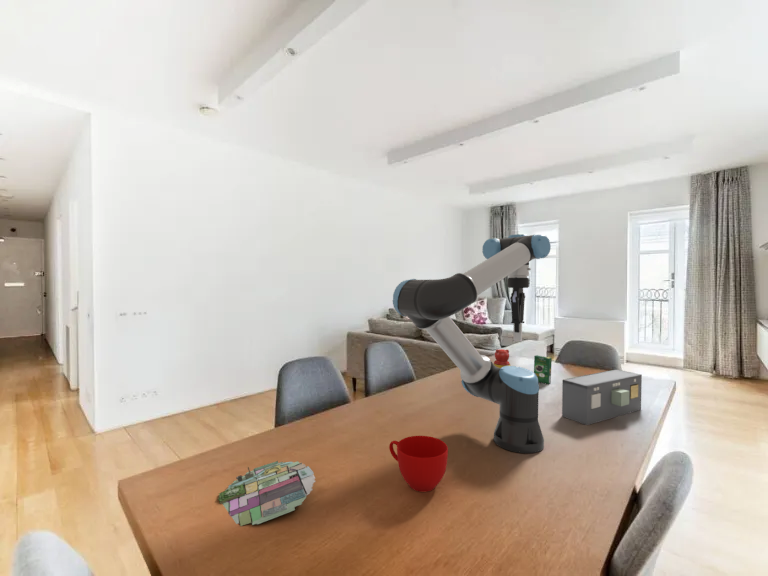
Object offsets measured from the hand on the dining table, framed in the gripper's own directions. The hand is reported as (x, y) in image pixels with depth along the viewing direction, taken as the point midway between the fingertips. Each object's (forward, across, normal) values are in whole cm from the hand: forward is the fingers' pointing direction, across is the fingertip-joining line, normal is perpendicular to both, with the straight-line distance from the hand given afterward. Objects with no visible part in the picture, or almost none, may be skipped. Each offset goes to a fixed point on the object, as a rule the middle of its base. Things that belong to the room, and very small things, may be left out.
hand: (517, 340), depth 139 cm
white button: (+24, +14, -22) cm, 35 cm away
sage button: (+24, +22, -31) cm, 45 cm away
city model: (+30, -83, +40) cm, 97 cm away
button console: (+29, +25, -26) cm, 47 cm away
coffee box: (+30, +58, +1) cm, 65 cm away
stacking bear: (+30, +42, +17) cm, 54 cm away
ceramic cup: (+30, -58, +12) cm, 66 cm away
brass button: (+24, +34, -34) cm, 54 cm away
